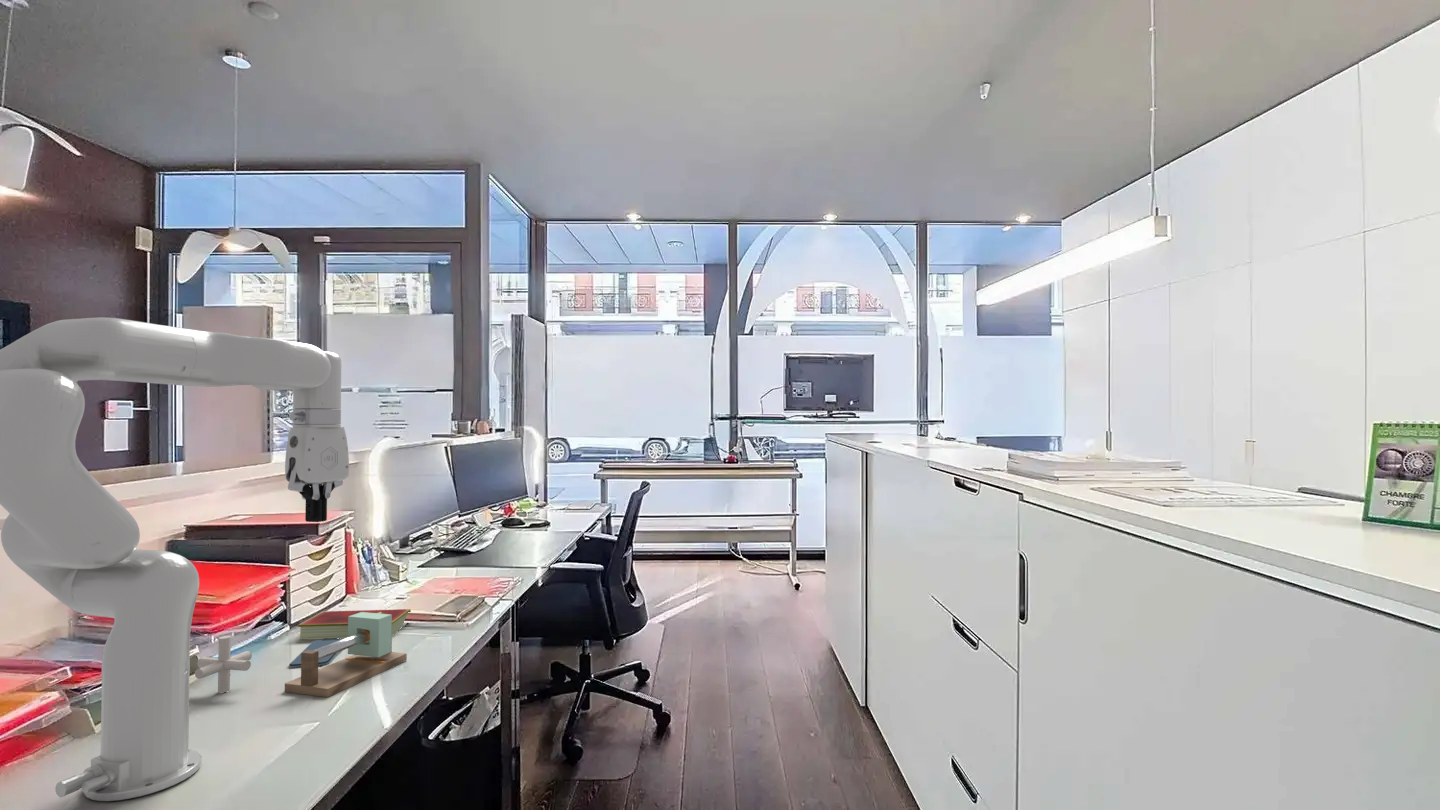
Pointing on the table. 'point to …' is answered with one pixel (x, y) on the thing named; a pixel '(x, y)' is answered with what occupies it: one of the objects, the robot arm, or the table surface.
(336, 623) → the hardcover book
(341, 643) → the rod stand
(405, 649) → the table surface
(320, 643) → the smartphone
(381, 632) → the collar
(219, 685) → the pipe connector
